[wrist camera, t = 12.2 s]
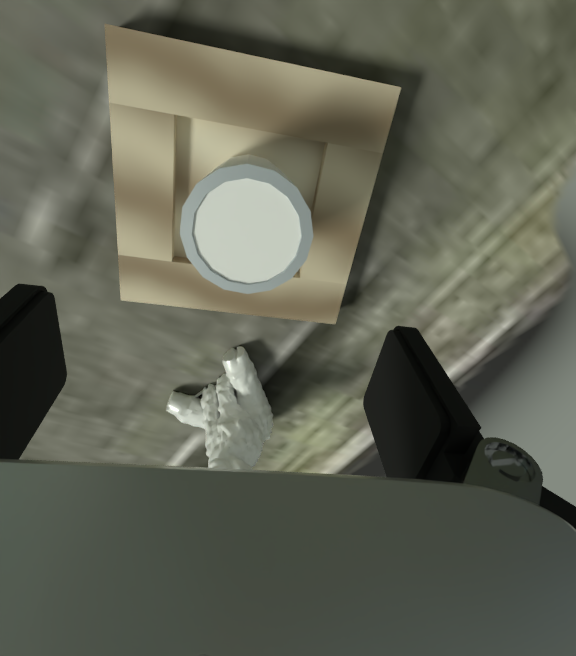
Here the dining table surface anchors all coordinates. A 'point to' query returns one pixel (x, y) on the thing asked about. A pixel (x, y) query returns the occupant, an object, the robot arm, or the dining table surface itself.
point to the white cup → (246, 226)
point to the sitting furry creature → (229, 414)
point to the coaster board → (229, 141)
